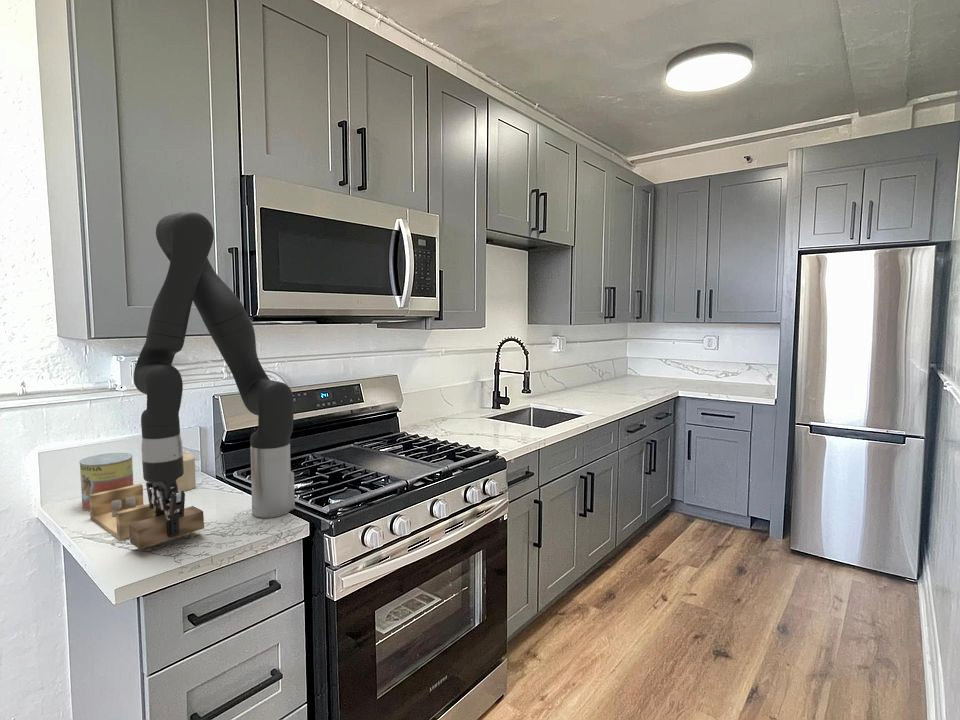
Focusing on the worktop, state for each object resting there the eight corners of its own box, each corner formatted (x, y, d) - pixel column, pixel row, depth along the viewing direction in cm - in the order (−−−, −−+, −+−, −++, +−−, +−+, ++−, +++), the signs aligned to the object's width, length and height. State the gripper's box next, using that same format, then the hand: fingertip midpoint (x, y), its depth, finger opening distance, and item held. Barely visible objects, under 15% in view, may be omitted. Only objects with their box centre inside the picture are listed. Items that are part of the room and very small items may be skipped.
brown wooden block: (193, 522, 124) (192, 505, 124) (204, 528, 121) (203, 511, 121) (130, 542, 114) (128, 524, 114) (139, 549, 111) (138, 530, 111)
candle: (189, 491, 151) (188, 456, 150) (169, 491, 151) (168, 456, 150) (199, 485, 157) (198, 451, 156) (180, 484, 157) (178, 450, 156)
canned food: (73, 506, 139) (70, 460, 138) (120, 493, 149) (118, 450, 148) (95, 515, 133) (92, 467, 132) (143, 501, 143) (141, 456, 142)
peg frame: (141, 506, 139) (140, 483, 139) (173, 525, 128) (172, 500, 127) (90, 519, 131) (89, 494, 130) (120, 540, 119) (118, 513, 118)
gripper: (196, 458, 114) (201, 535, 116) (167, 446, 123) (171, 519, 125) (157, 466, 108) (163, 548, 110) (129, 454, 117) (135, 529, 119)
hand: (167, 532), depth 118 cm, fingers closed on brown wooden block, 5 cm apart
